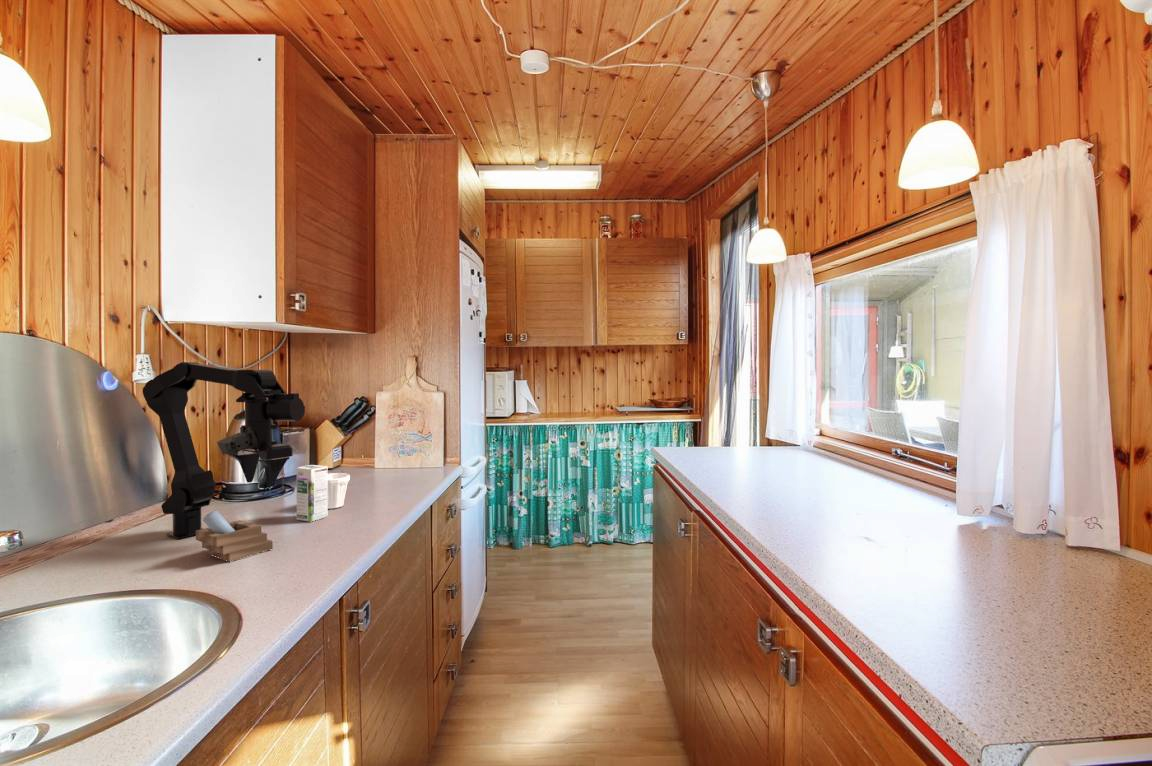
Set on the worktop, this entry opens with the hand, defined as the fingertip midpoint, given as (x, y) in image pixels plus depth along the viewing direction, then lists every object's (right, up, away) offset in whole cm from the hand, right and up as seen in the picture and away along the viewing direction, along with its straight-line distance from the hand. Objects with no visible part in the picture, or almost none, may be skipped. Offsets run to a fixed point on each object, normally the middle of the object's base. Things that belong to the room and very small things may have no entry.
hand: (259, 484), depth 125 cm
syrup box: (+5, -13, +16) cm, 21 cm away
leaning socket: (+1, -13, -11) cm, 17 cm away
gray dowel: (+2, -12, -11) cm, 16 cm away
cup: (+4, -13, +28) cm, 31 cm away
